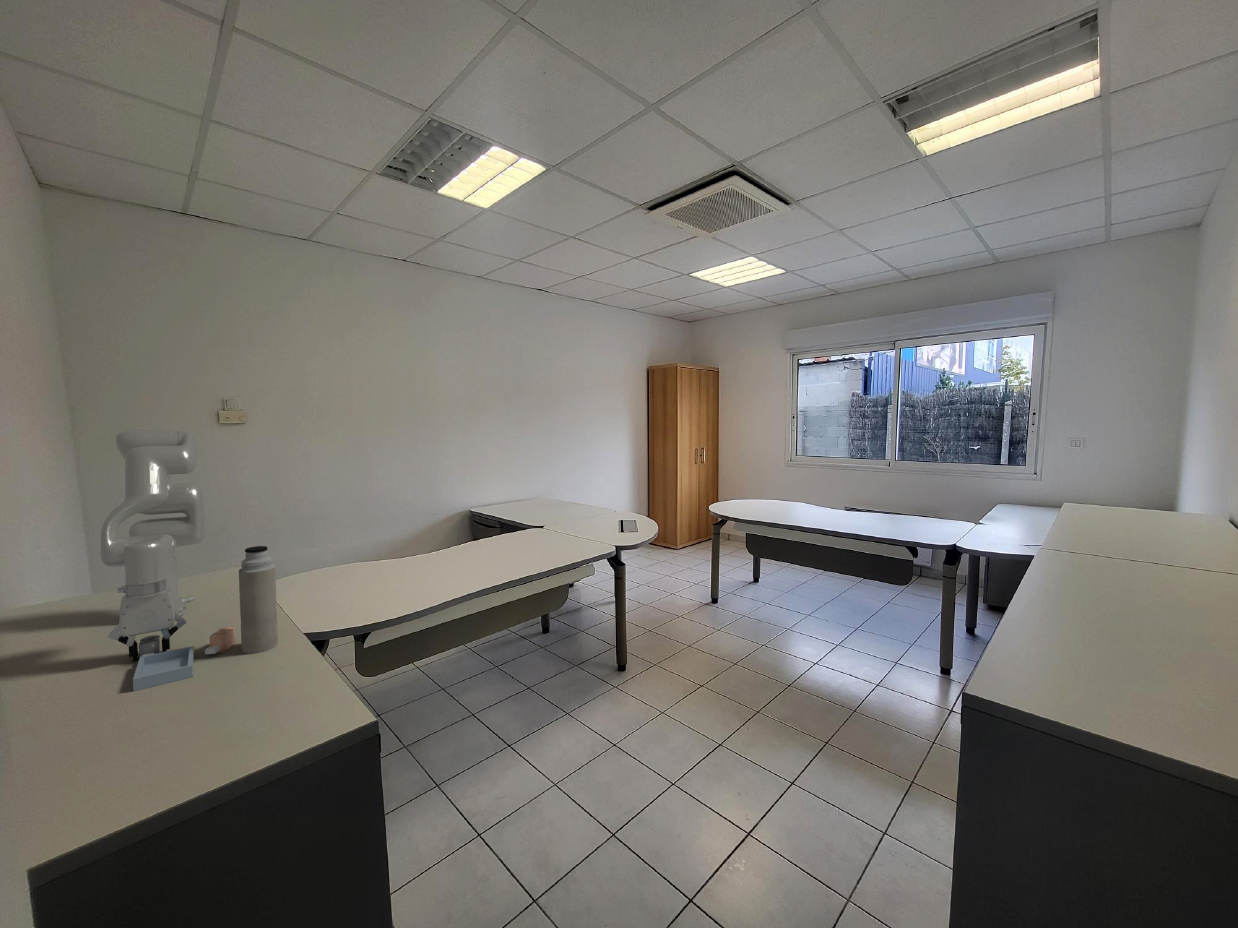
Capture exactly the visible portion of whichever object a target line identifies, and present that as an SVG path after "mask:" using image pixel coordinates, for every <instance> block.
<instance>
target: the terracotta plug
mask: <svg viewBox="0 0 1238 928" xmlns="http://www.w3.org/2000/svg"><path fill="white" fill-rule="evenodd" d="M235 644H236V626H225V627H222V628H219V629H218V630H216V631H215V632H213V633H212V634H211V635H209V646H208V647H207V648H205V649H204V655H217V654H221V653H224V652H226V651H228V650H229V649H230V648H231V647H233V645H235Z"/></svg>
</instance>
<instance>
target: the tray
mask: <svg viewBox="0 0 1238 928" xmlns="http://www.w3.org/2000/svg"><path fill="white" fill-rule="evenodd" d="M194 647H195V646H194V645H191V646H186V647H181V648H176V649H172V650H167V651H166V652H162V651H160V653H157V654H152V655H147V656H142V657H140V658H138V661H137V666H136V669H135V671H134V674H133V677H132V687H133V689H132V690H133V692H135V691H140V690H145V689H148V688H152V687H156V686H161V685H166V684H169V683H173V682H177V681H182V680H186V679H189V678H193V675H194V672H193V671H194V662H195V661H194V660H195V649H194Z"/></svg>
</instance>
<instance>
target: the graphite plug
mask: <svg viewBox="0 0 1238 928" xmlns="http://www.w3.org/2000/svg"><path fill="white" fill-rule="evenodd" d="M160 637H161V636H160V635H159V634H154V635H153V634H152V635H148V636H145V637H142V638H140V641H139V643H138V657H139V658H138V659H140V657H142V656H147V655H152V654H157V653H161V638H160Z"/></svg>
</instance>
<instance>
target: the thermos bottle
mask: <svg viewBox="0 0 1238 928" xmlns="http://www.w3.org/2000/svg"><path fill="white" fill-rule="evenodd" d="M244 552H245V558H244V559H242V561H241V565H240V566H241V567H240V569H238V588H239V589H238V590H239V615H240V636H241V637H240V639H241V640H240V641H241V653H244V654H250V655H251V654H258V653H263V652H267V651H270V650H271V649H274V648H276V647H277V645H279V639H278V638H279V637H278V634H279V633H278V612H277V579H276V578H277V577H276V574H277V573H276V565H275V564H274V563H273V558H272V557H271V556H269V553H268V546H266V545H258V546H257V545H256V546H250V547H247V548H245V549H244Z"/></svg>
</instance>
